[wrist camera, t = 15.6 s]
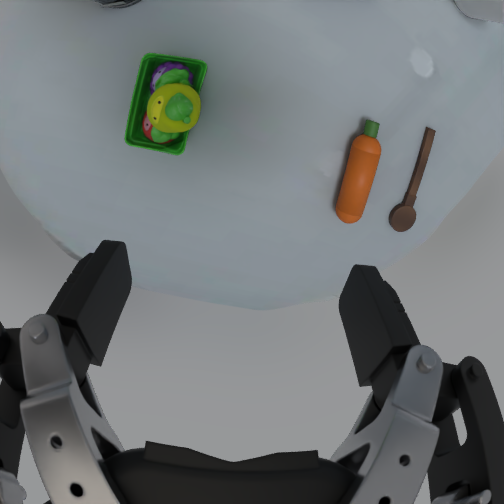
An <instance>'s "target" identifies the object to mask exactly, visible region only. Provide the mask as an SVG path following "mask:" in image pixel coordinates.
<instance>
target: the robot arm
mask: <svg viewBox="0 0 504 504" xmlns="http://www.w3.org/2000/svg"><path fill="white" fill-rule="evenodd" d="M92 1H95V2H98V3H101V4H103V5H100V6H101V7H111V8H123V7H127V6H130V5H133V4H135V3H137V2H139V1H141V0H92ZM131 285H132V276H131V271H130V265H129V260H128V254H127V249H126V245H125V243H124V242H121V241H111V240H103V241H102V242H101V244H100V245H99V246H98V248H97V249H96V251H95V252H94V253H89V254H88V255H86V256H85V257H84V258H83V259H81V260H80V261H79V262H78V264H77V265H76V266H75V268H74V270H73V271H72V273H71V274H70V275H69V277H68V278H67V282H65V283H64V285H63V286H62V288H61V289H60V291H59V292H58V294H57V296H56V297H55V299H54V301H53V302H52V304H51V306H50V307H49V309H48V311H47V312H46V314H39V315H36V316H34V317H32V318H30V319H29V320H28V321H27V322H26V323H25V324H24V325H23V327H22V328H10V329H5V328H4V326H3V325H2V323H1V322H0V377H1V378H2V381H1V384H0V504H23V500H25V499H26V491H25V489H24V488H23V487H22V486H21V485H19V482H18V480H17V474H18V467H19V461H20V455H21V450H22V444H23V440H24V434H25V431H26V435H27V438H28V442H29V445H30V449H31V451H32V455H33V458H34V461H35V463H36V466H37V469H38V471H39V474H40V477H41V479H42V482H43V484H44V487H45V489H46V491H47V493H48V496H49V498H50V500H49V501H47V502H46V503H44V504H413V503H414V501H415V499H416V497H417V494H418V493H419V490H420V488H421V485H422V483H423V480H424V478H425V476H426V473H428V481H429V489H430V499H431V504H504V422H503V418H502V415H501V411H500V408H499V405H498V402H497V399H496V396H495V393H494V390H493V388H492V385H491V382H490V380H489V377H488V375H487V372H486V370H485V367H484V366H483V364H482V363H481V362H480V361H479V360H478V359H476V358H475V357H472V356H467V357H465V358H464V359H463V360H462V361H461V362H460V363H459V364H458V365H453V364H448V363H444V362H442V361H441V358H440V357H439V355H438V354H437V353H436V352H435V351H434V350H433V349H431V348H430V347H428V346H425V345H421V344H420V342H419V340H418V337H417V335H416V333H415V331H414V328H413V326H412V324H411V322H410V320H409V318H408V316H407V314H406V313H405V309H404V307H403V305H402V304H400V299H399V297H398V295H397V293H396V291H395V290H394V289H393V288H392V287H391V286H390V285H389V284H388V283H387V282H386V281H383V279H382V277H381V276H380V273H379V271H378V270H377V268H376V267H375V266H368V265H357V264H356V265H354V266H353V268H352V270H351V272H350V274H349V277H348V279H347V281H346V284H345V286H344V288H343V291H342V293H341V295H340V299H339V312H340V315H341V319H342V322H343V326H344V329H345V333H346V337H347V340H348V344H349V347H350V351H351V355H352V358H353V362H354V366H355V370H356V374H357V378H358V382H359V386H360V387H362V386H372V390H373V391H372V392H371V393H370V395H369V397H368V399H367V401H366V403H365V405H364V407H363V409H362V411H361V413H360V415H359V417H358V419H357V421H356V422H355V424H354V426H353V428H352V430H351V432H350V433H349V435H348V437H347V438H346V439H345V441H344V442H343V443H342V444H341V445H340V446H339V447H338V449H337V450H336V451H335V452H334V454H333V455H332V457H331V459H330V460H327V459H323V458H318V450H313V451H302V452H281V453H274V454H270V455H266V456H261V457H257V458H253V459H248V460H243V461H238V462H230V461H226V460H222V459H219V458H216V457H213V456H209V455H206V454H203V453H200V452H198V451H195V450H192V449H189V448H184V447H177V446H171V445H165V444H159V443H155V442H150V441H146V444H145V448H137V449H130V450H126V451H125V450H124V448H123V446H122V445H121V442H120V441H119V439H118V437H117V435H116V434H115V433H114V431H113V429H112V428H111V426H110V425H109V423H108V421H107V419H106V417H105V415H104V413H103V410H102V408H101V406H100V403H99V401H98V398H97V396H96V393H95V391H94V388H93V385H92V383H91V380H90V377H89V375H88V373H87V370H88V367H89V364H93V365H97V366H101V365H102V362H103V359H104V357H105V354H106V351H107V348H108V345H109V343H110V340H111V338H112V335H113V332H114V330H115V327H116V325H117V322H118V320H119V317H120V315H121V312H122V310H123V307H124V305H125V303H126V300H127V298H128V296H129V293H130V290H131ZM459 408H461V412H462V415H463V419H464V423H465V426H466V430H467V439H466V441H465V443H464V444H463V445H462V446H460V444H459V440H458V435H457V431H456V427H455V423H454V419H453V416H452V413H454V412H455V411H456V410H458V409H459Z"/></svg>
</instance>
